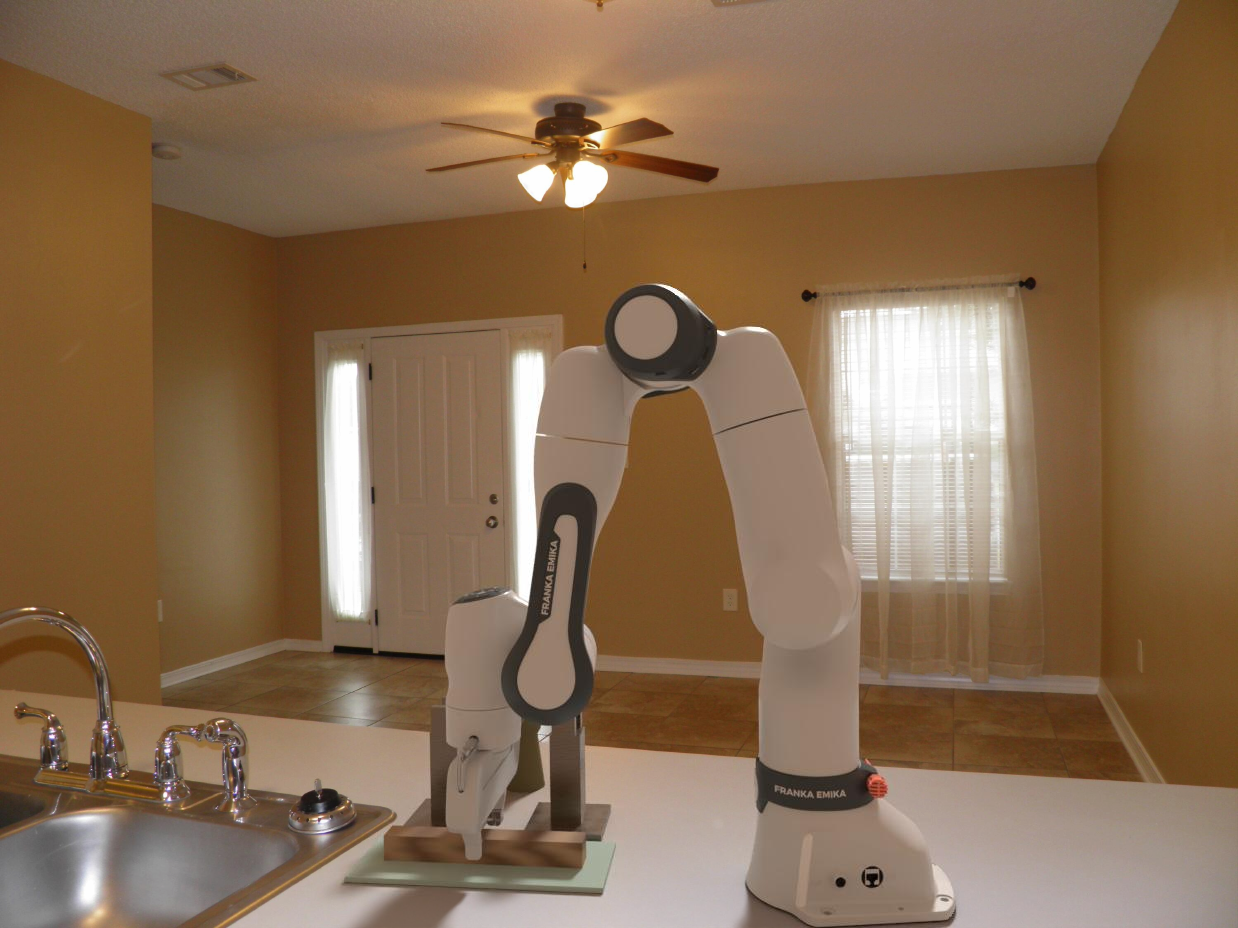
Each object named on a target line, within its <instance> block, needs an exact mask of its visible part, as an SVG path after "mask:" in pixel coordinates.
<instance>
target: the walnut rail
mask: <svg viewBox="0 0 1238 928" xmlns="http://www.w3.org/2000/svg"><path fill="white" fill-rule="evenodd" d="M384 834H385V835H384V860H385V861H409V862H434V863H459V864H483V865H508V866H533V867H558V868H583V865H584V862H585V859H586V832H564V831H536V830H524V829H506V828H505V829H503V828H500V829H499V828H483V829H482V830H481V837H482V840H484V852H483V854H482V856H481V858H480V859H479V860H468V859H467V858H466V856H465V843H464V841H463V838H462V835H461V833H451V832H449V831H448V828H447V827H425V826H403V825H393V824H392V825H391V826H390V828H389V829H388V830H387V831H386V833H384Z"/></svg>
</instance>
